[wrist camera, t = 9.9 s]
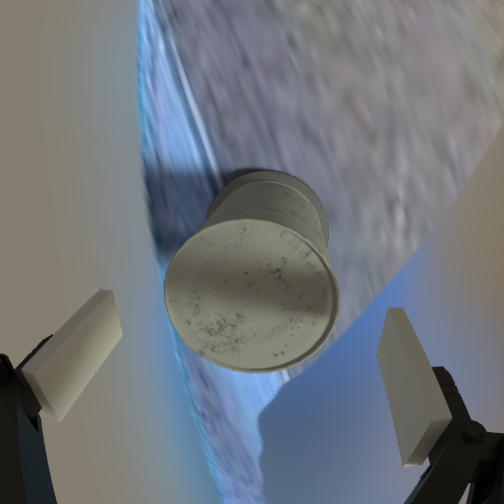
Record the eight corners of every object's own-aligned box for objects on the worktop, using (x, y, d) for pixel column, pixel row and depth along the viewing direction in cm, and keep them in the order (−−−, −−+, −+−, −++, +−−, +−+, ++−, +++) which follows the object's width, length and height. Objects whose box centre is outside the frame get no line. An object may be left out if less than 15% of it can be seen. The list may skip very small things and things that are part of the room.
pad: (305, 153, 27) (306, 154, 26) (340, 265, 30) (342, 272, 29) (191, 193, 30) (186, 196, 28) (234, 295, 33) (231, 303, 31)
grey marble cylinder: (200, 194, 28) (139, 240, 16) (309, 169, 26) (324, 200, 15) (228, 291, 31) (195, 379, 19) (329, 273, 29) (348, 361, 18)
